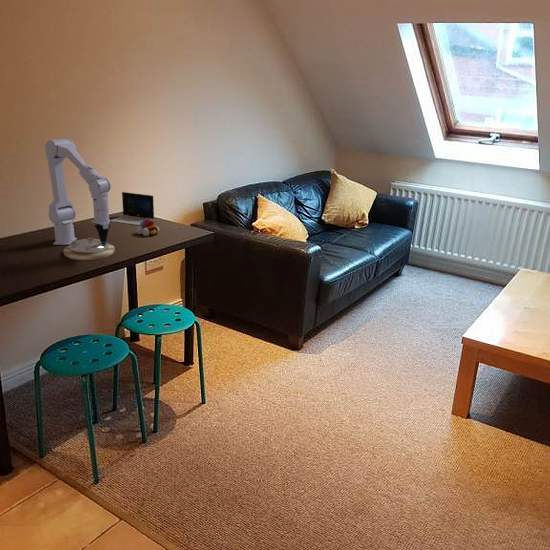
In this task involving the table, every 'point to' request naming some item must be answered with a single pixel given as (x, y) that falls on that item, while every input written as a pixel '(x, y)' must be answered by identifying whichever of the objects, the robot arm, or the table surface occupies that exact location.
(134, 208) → the laptop
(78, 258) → the base plate
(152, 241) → the table surface
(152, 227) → the red white round cluster
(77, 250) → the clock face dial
